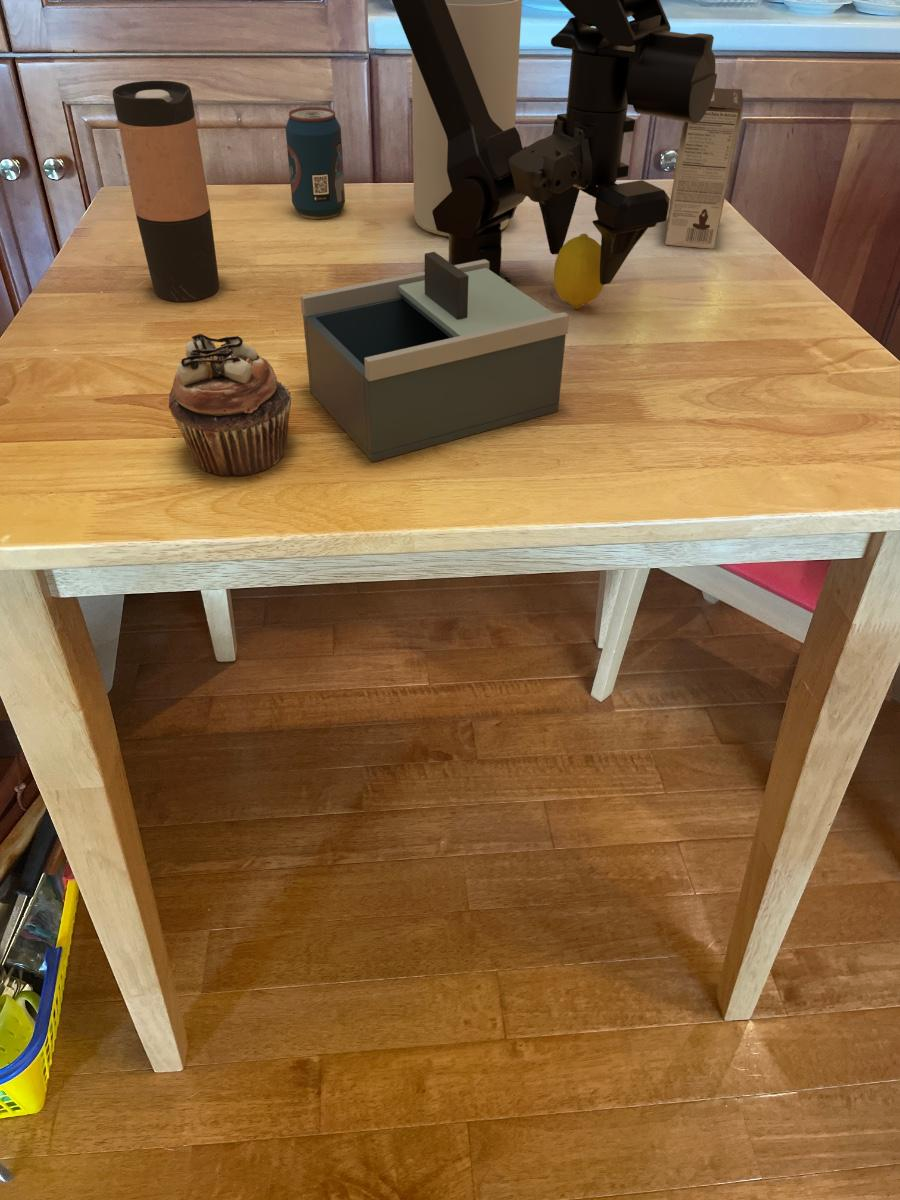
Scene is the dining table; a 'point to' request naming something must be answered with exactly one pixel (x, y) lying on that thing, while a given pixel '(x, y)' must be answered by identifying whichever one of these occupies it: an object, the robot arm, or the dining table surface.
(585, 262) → the lemon
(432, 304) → the slide door
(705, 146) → the coffee box
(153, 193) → the travel mug
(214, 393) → the cupcake
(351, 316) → the chest
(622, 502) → the dining table surface
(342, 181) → the soda can
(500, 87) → the cylinder vase
